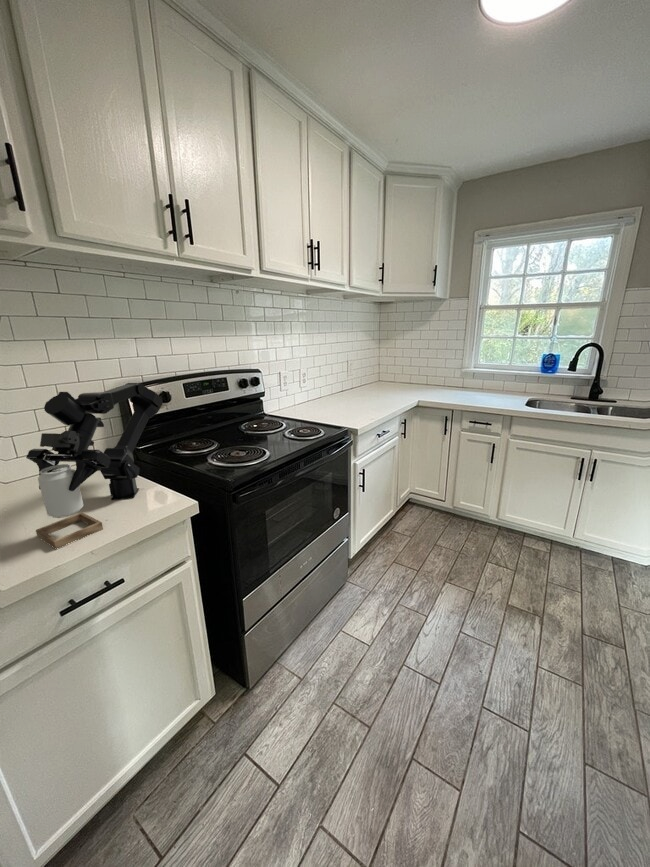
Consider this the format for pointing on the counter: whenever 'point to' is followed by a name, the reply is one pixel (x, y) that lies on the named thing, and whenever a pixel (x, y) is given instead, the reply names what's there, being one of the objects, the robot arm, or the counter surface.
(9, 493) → the counter surface
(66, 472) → the can
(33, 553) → the counter surface
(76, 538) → the frame
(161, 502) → the counter surface
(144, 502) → the counter surface
